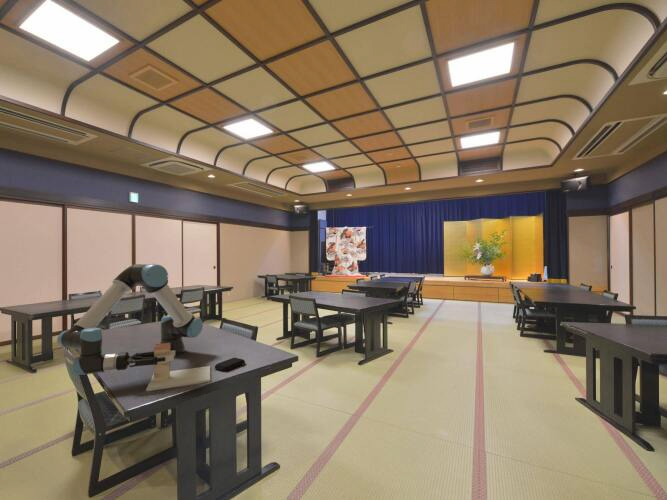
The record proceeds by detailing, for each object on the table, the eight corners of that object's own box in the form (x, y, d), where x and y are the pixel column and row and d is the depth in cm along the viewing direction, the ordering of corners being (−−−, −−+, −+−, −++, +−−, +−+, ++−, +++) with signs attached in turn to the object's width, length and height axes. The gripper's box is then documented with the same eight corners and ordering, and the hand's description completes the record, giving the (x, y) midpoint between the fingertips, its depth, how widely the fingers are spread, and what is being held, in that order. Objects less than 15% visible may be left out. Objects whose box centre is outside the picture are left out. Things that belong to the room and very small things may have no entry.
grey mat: (146, 391, 132) (146, 389, 132) (153, 375, 151) (153, 373, 151) (210, 381, 142) (210, 379, 142) (210, 367, 161) (210, 366, 161)
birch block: (155, 377, 145) (156, 344, 146) (169, 375, 148) (170, 342, 148) (153, 382, 140) (154, 347, 140) (168, 380, 142) (168, 345, 143)
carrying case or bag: (227, 373, 153) (248, 364, 166) (227, 367, 154) (248, 359, 166) (212, 370, 159) (234, 361, 172) (212, 364, 159) (234, 356, 172)
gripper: (122, 363, 146) (176, 357, 155) (110, 377, 128) (172, 370, 137) (123, 347, 146) (176, 342, 155) (110, 359, 128) (172, 353, 137)
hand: (174, 355), depth 146 cm, fingers open, 7 cm apart
